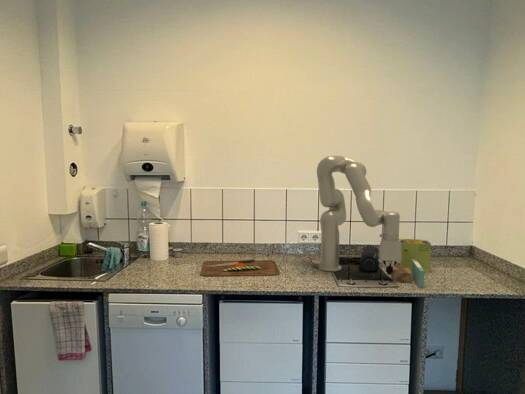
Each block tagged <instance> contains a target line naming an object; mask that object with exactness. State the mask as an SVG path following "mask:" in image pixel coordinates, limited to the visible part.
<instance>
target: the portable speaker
mask: <svg viewBox="0 0 525 394" xmlns="http://www.w3.org/2000/svg"><path fill="white" fill-rule="evenodd" d="M378 259H379V248H378V247H376V246H375V245H366V246H365V247H364V248H363V250H362V251H361V254H360V259H359V263H360V266H361V268H362V269H363V270H364V271H367V272H374V271H376V270H377V269H378V268H379V267H380V262H379V261H378Z"/></svg>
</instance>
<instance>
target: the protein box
mask: <svg viewBox="0 0 525 394" xmlns="http://www.w3.org/2000/svg"><path fill="white" fill-rule="evenodd" d="M399 240H400V241H401V263H396V267H404V268H409V270H410V272H411V259H412V260H416V261H417V262H418V263H419V264H420V265H421V267H422V268H423V270H424V271H425V273H426V274H427V273H428V274H429V273H430V268H431V252H432V251H431V249H432V244H431V242H430V241H429V240H428V239H420V238H419V239H417V238H399ZM425 273H424V274H425Z"/></svg>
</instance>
